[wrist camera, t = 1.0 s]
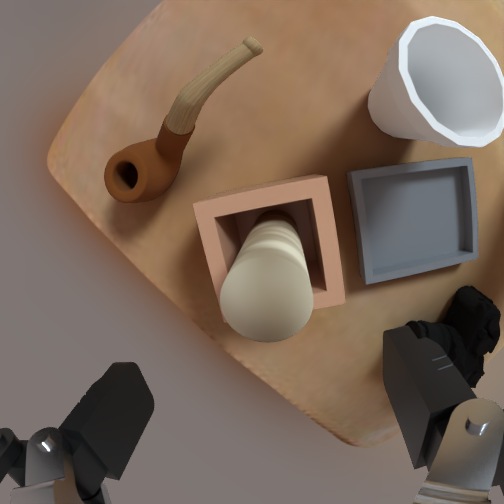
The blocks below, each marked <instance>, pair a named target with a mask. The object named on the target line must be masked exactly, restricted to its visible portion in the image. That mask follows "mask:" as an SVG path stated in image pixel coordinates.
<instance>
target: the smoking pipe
mask: <svg viewBox="0 0 504 504" xmlns="http://www.w3.org/2000/svg"><path fill="white" fill-rule="evenodd" d="M262 52H263V48H262V46H261V45H260V44H259V43H258V42H257V41H256V40H255V39H254V38H253V37H248V38H246V39H245V40H244V41H243V43H242V44H240V45H239V46H237V47H236V48H234V49H233V50H232V51H230V52H229V53H227V54H226V55H224V56H223V57H222V58H220V59H219V60H218V61H216V62H215V63H214V64H212V65H211V66H210V67H209V68H207V69H206V70H205V71H203V72H202V73H201V74H200V75H198V76H197V77H196V78H195V79H193V80H192V81H191V82H190V83H188V84H187V85H186V86H185V87H184V88H183V89H182V90H181V91H180V93H179V94H178V96H177V97H176V99H175V101H174V103H173V105H172V107H171V109H170V111H169V114H168V115H167V116H166V117H165V119H164V121H163V124H162V127H161V129H160V132H159V135H158V137H157V138H154V139H151V140H147V141H144V142H140V143H136V144H133V145H130V146H128V147H126V148H124V149H123V150H121V151H119V152H117V153H116V154H114V155H113V156H112V157H111V158H110V159H109V161H108V163H107V165H106V168H105V173H104V180H105V185H106V188H107V190H108V192H109V193H110V195H111V196H112V197H113V198H114V199H116V200H118V201H120V202H124V203H137V202H144V201H149V200H152V199H155V198H157V197H158V196H160V195H161V194H163V193H164V192H165V191H166V190H167V189H168V188H169V186H170V185H171V184H172V182H173V181H174V179H175V177H176V175H177V173H178V170H179V168H180V164H181V160H182V155H183V151H184V149H185V147H186V145H187V143H188V141H189V139H190V137H191V135H192V133H193V131H194V129H195V122H196V120H197V117H198V115H199V113H200V110H201V108H202V106H203V105H204V103H205V102H206V100H207V99H208V97H209V96H210V95H211V94H212V92H213V91H214V90H215V89H216V88H217V87H218V86H219V85H220V84H221V83H222V82H223V81H224V80H225V79H226V78H227V77H229V76H230V75H231V74H232V73H234V72H235V71H236V70H237V69H239V68H240V67H241V66H242V65H244V64H245V63H247V62H248V61H249V60H251V59H252V58H254V57H255V56H258V55H260V54H261V53H262Z"/></svg>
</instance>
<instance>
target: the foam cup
mask: <svg viewBox="0 0 504 504" xmlns="http://www.w3.org/2000/svg"><path fill="white" fill-rule="evenodd" d="M368 110H369V113H370V115H371V118H372V121H373V122H374V123H375V124H376V125H377V126H378V127H379V129H380V130H381V131H383V132H385V133H387V134H389V135H391V136H393V137H397V138H405V139H413V140H421V141H428V142H434V143H437V144H439V145H440V146H443V147H459V148H473V147H483V146H485V145H487V144H488V143H490V142H491V141H493V140H494V139H496V138H498V137H499V136H500V134H501V132H502V130H503V127H504V77H503V75H502V72H501V70H500V67H499V65H498V62H497V61H496V59H495V58H494V56H493V55H492V54H491V52H490V51H489V50H488V49H487V47H486V46H485V45H484V43H483V42H482V41H481V40H480V38H478V37H477V36H476V35H474V34H473V33H471V32H470V31H469V30H467V29H466V28H464V27H463V26H461V25H460V24H459V23H457V22H455V21H451V20H447V19H443V18H438V17H434V16H430V17H427V18H423V19H420V20H417V21H414V22H411V23H410V24H409V25H408V26H407V27H406V28H405V29H404V31H403V32H402V33H401V34H400V35H399V36H398V38H397V39H396V41H395V42H394V44H393V45H392V47H391V48H390V50H389V51H388V58H387V61H386V63H385V65H384V67H383V69H382V70H381V72H380V74H379V76H378V78H377V80H376V82H375V84H374V85H373V87H372V89H371V91H370V93H369V96H368Z"/></svg>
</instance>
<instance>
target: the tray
mask: <svg viewBox="0 0 504 504" xmlns="http://www.w3.org/2000/svg"><path fill="white" fill-rule="evenodd" d="M346 177H347V183H348V188H349V194H350V200H351V206H352V213H353V220H354V227H355V234H356V241H357V249H358V258H359V267H360V276H361V278H362V279H363V281H364V282H365V284H366V285H367V284H372V283H377V282H381V281H386V280H391V279H395V278H400V277H404V276H409V275H413V274H418V273H422V272H426V271H430V270H435V269H439V268H443V267H447V266H451V265H455V264H459V263H463V262H467V261H471V260H474V259H478V217H477V200H476V188H475V178H474V170H473V162H472V157H459V158H448V159H438V160H429V161H420V162H411V163H403V164H396V165H388V166H381V167H374V168H367V169H360V170H354V171H347V172H346Z"/></svg>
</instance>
